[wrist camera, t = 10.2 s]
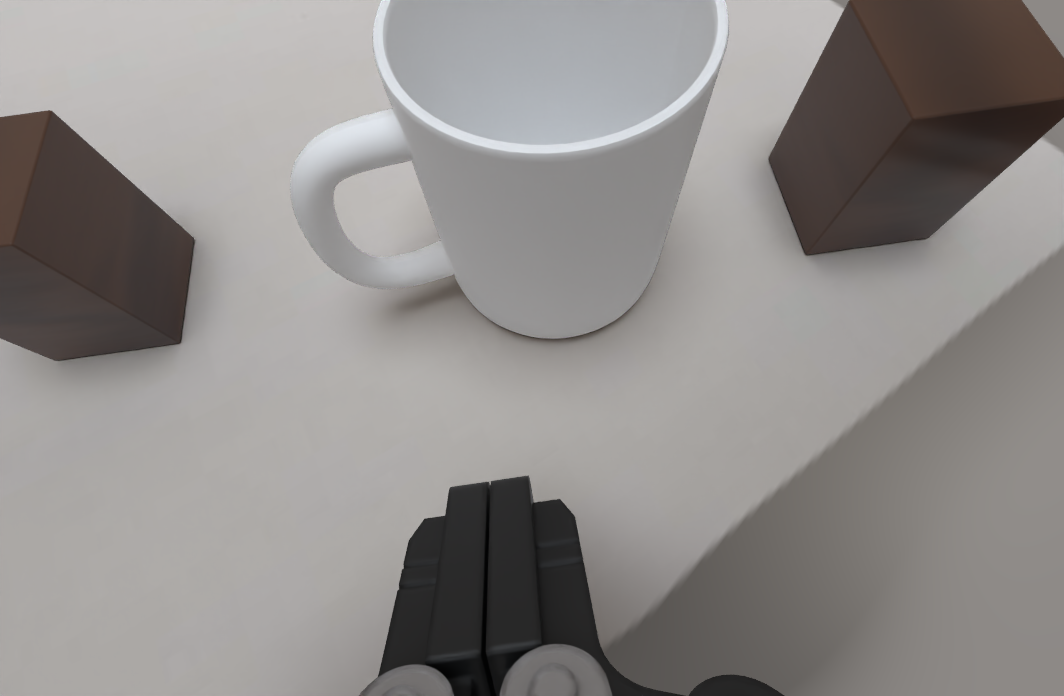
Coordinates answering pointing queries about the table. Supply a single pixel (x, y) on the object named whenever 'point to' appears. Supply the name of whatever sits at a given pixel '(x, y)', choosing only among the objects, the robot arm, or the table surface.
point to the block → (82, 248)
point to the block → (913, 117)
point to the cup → (527, 149)
